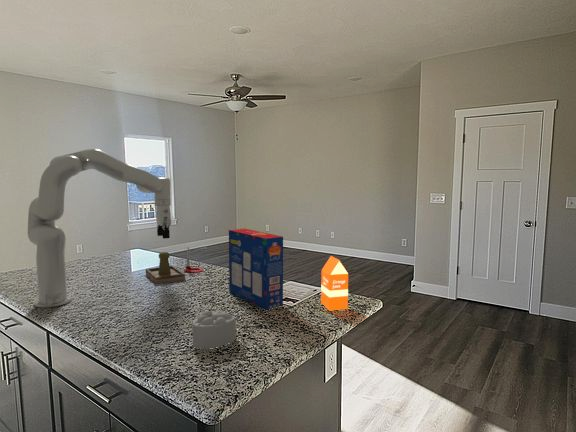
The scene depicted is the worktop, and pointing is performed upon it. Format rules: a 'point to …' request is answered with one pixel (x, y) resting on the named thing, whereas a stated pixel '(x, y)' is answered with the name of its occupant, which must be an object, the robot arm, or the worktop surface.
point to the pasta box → (256, 267)
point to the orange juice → (334, 285)
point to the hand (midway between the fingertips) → (163, 236)
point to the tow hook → (191, 267)
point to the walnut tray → (159, 279)
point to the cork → (164, 264)
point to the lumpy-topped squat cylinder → (213, 329)
